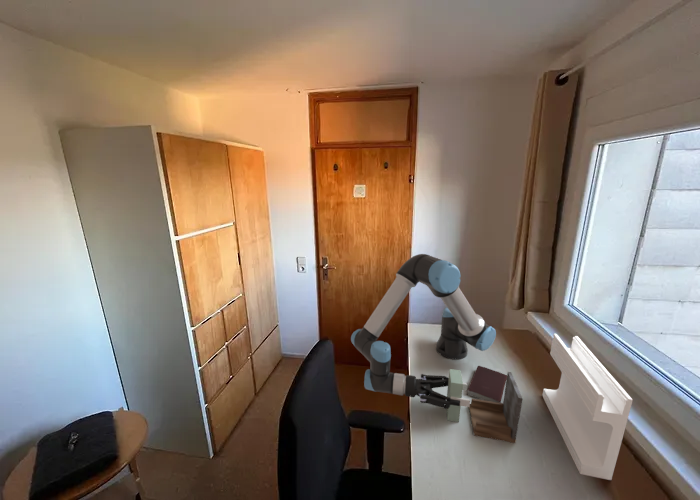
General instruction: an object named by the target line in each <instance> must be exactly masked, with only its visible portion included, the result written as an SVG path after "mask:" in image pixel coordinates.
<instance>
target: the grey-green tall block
mask: <svg viewBox="0 0 700 500" xmlns="http://www.w3.org/2000/svg"><path fill="white" fill-rule="evenodd" d="M448 378H449V380H448V386H447V391H446V392H447V393H446V396H447V397H449V398H451V396H452V397H459V398H463V397H462V396H463V391H464V390H463V383H464V381H463V375H462V371H461V369H459V370H458V369H453V368H452V369H451V368H449V370H448ZM461 407H462V406H456V405H450V407H449V408H448V409H445V410H446V419H447V421H449V422H456V423H459V422H460V415H461Z"/></svg>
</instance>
